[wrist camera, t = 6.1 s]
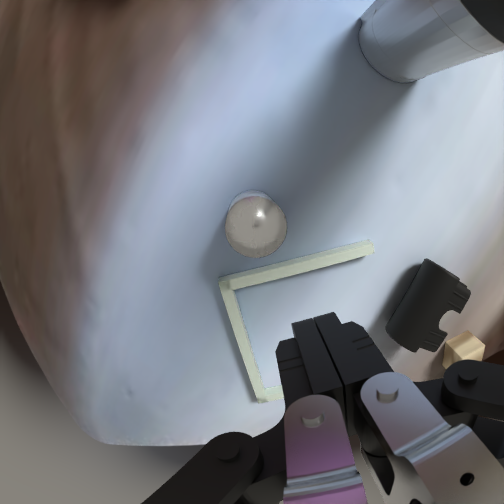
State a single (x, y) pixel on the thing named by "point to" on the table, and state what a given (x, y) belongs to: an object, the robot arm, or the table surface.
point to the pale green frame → (269, 274)
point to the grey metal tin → (255, 224)
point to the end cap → (427, 308)
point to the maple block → (462, 349)
